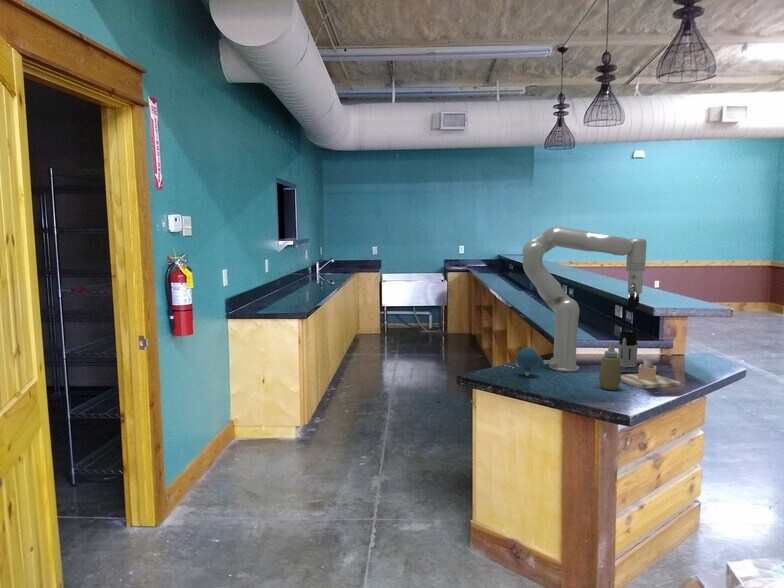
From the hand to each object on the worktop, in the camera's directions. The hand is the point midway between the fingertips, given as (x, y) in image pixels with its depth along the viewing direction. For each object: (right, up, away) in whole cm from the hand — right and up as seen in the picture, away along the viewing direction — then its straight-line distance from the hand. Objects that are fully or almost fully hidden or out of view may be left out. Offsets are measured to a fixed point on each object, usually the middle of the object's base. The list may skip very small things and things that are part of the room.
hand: (633, 306), depth 237 cm
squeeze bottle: (-21, -31, -26) cm, 46 cm away
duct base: (-2, -30, -16) cm, 34 cm away
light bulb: (-48, -29, -8) cm, 57 cm away
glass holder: (+2, -28, +12) cm, 30 cm away
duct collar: (-2, -29, -16) cm, 33 cm away
